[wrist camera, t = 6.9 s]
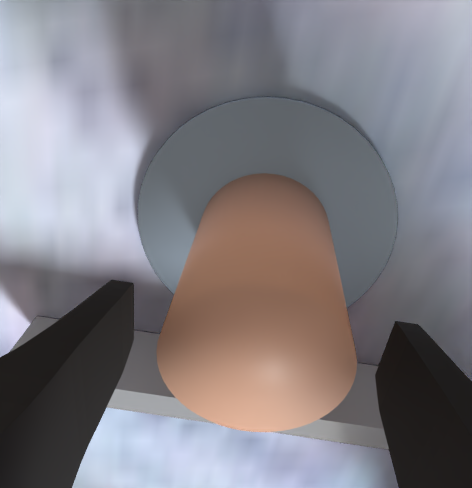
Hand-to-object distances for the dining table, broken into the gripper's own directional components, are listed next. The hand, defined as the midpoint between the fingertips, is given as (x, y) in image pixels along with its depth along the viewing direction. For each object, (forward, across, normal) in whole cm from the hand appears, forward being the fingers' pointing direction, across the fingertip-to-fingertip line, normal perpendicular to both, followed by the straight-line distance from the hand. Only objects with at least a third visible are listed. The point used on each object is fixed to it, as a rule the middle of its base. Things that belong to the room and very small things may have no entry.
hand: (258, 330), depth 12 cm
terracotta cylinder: (+6, 0, 0) cm, 6 cm away
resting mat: (+6, 0, 0) cm, 6 cm away
